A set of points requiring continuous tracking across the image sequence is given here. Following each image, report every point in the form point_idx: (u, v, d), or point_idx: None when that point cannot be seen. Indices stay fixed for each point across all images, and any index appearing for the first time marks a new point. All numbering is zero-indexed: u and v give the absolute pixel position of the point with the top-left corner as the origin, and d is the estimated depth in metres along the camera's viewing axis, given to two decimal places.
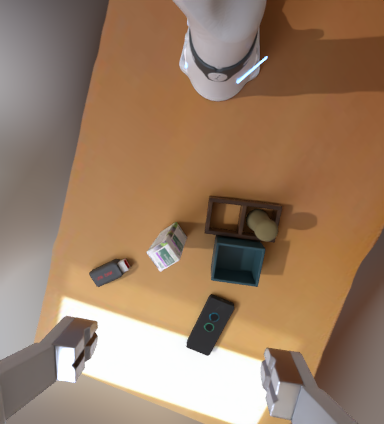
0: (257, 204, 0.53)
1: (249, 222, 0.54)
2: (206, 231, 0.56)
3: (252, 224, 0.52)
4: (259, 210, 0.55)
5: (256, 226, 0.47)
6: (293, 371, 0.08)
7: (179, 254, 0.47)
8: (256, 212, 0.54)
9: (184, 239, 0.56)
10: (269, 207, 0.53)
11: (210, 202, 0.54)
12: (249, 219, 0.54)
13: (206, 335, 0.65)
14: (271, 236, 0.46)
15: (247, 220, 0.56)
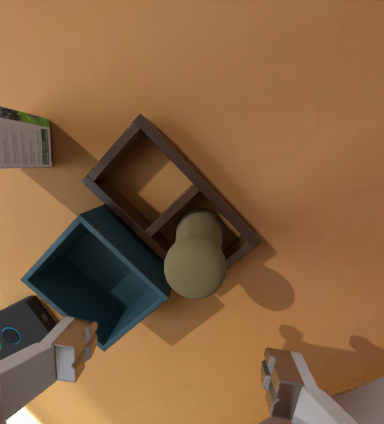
0: (221, 203, 0.22)
1: (180, 225, 0.23)
2: (87, 180, 0.23)
3: (181, 232, 0.21)
4: (216, 218, 0.25)
5: (180, 243, 0.17)
6: (293, 371, 0.08)
7: None
8: (208, 217, 0.23)
9: (29, 161, 0.22)
10: (237, 225, 0.23)
11: (134, 125, 0.21)
12: (184, 220, 0.23)
13: None
14: (194, 291, 0.16)
15: (181, 219, 0.25)
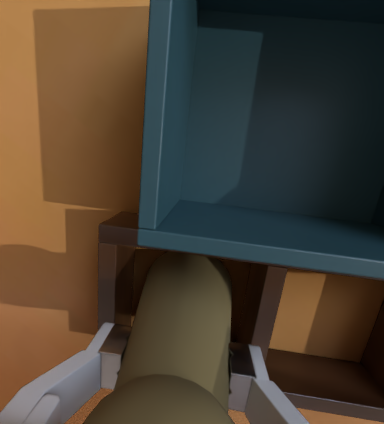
0: None
1: None
2: None
3: None
4: None
5: None
6: (247, 364, 0.08)
7: None
8: None
9: None
10: None
11: None
12: None
13: None
14: None
15: None
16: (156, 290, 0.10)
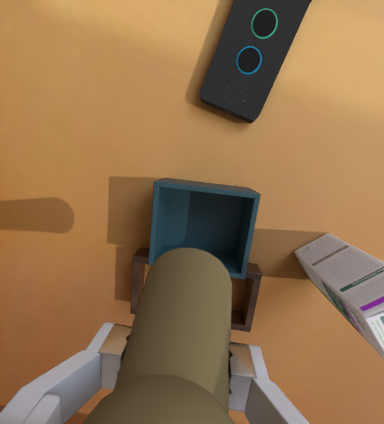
0: None
1: None
2: (258, 277, 0.29)
3: None
4: None
5: None
6: (247, 364, 0.08)
7: (353, 311, 0.19)
8: None
9: (305, 266, 0.28)
10: None
11: (248, 325, 0.31)
12: None
13: None
14: None
15: None
16: (156, 290, 0.10)
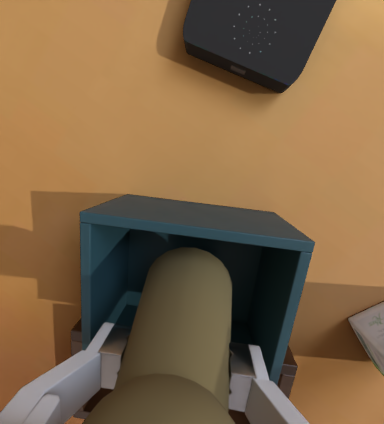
0: None
1: None
2: (291, 372, 0.16)
3: None
4: None
5: None
6: (247, 364, 0.08)
7: None
8: None
9: (381, 360, 0.15)
10: None
11: None
12: None
13: None
14: None
15: None
16: (157, 290, 0.10)
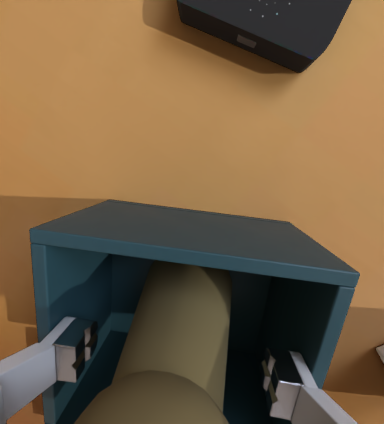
0: None
1: (229, 323, 0.11)
2: None
3: None
4: None
5: None
6: (292, 371, 0.08)
7: None
8: None
9: None
10: None
11: None
12: (228, 324, 0.12)
13: None
14: None
15: None
16: (155, 288, 0.11)
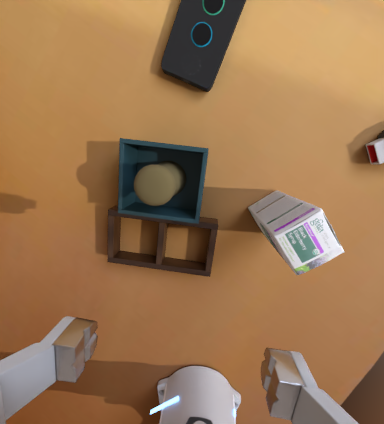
0: (141, 265, 0.37)
1: (181, 180, 0.32)
2: (215, 227, 0.34)
3: (177, 183, 0.30)
4: None
5: (172, 193, 0.26)
6: (293, 371, 0.08)
7: (271, 235, 0.24)
8: None
9: (253, 216, 0.33)
10: (124, 261, 0.37)
11: (208, 270, 0.36)
12: (182, 183, 0.33)
13: None
14: (144, 179, 0.25)
15: (184, 180, 0.34)
16: None
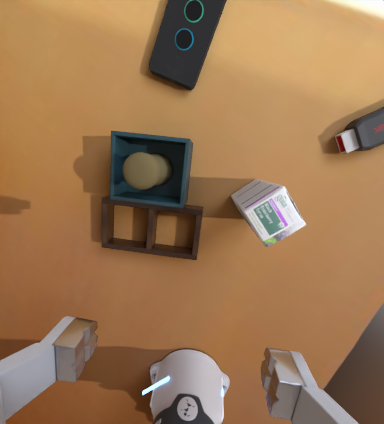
0: (133, 250, 0.40)
1: (167, 170, 0.35)
2: (200, 213, 0.37)
3: (163, 171, 0.33)
4: (155, 185, 0.38)
5: (157, 178, 0.29)
6: (293, 371, 0.08)
7: (243, 213, 0.27)
8: (158, 184, 0.37)
9: (234, 202, 0.36)
10: (117, 246, 0.40)
11: (195, 254, 0.39)
12: (168, 173, 0.36)
13: None
14: (131, 164, 0.28)
15: (170, 170, 0.37)
16: None
